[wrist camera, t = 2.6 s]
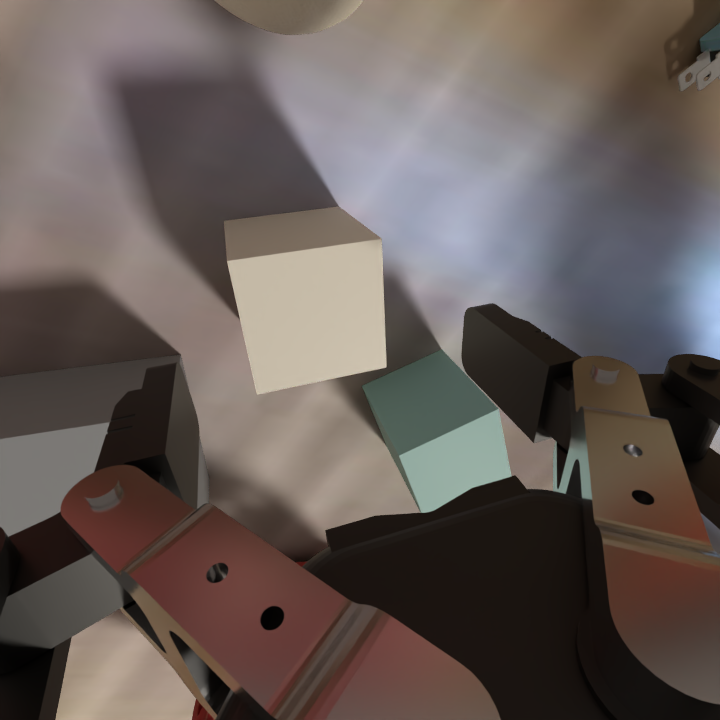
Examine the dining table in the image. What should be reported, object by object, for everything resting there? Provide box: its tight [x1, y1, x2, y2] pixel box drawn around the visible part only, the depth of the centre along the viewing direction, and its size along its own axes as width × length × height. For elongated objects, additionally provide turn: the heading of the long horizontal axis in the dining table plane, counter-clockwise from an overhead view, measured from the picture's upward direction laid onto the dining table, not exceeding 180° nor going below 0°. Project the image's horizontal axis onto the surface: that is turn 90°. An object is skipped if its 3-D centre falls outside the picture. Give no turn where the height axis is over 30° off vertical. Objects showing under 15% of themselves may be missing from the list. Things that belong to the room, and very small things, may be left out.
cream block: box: [224, 207, 387, 394], centre depth 18 cm, size 5×5×6 cm
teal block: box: [362, 350, 511, 513], centre depth 23 cm, size 5×5×6 cm
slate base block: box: [0, 355, 209, 537], centre depth 20 cm, size 8×8×5 cm
